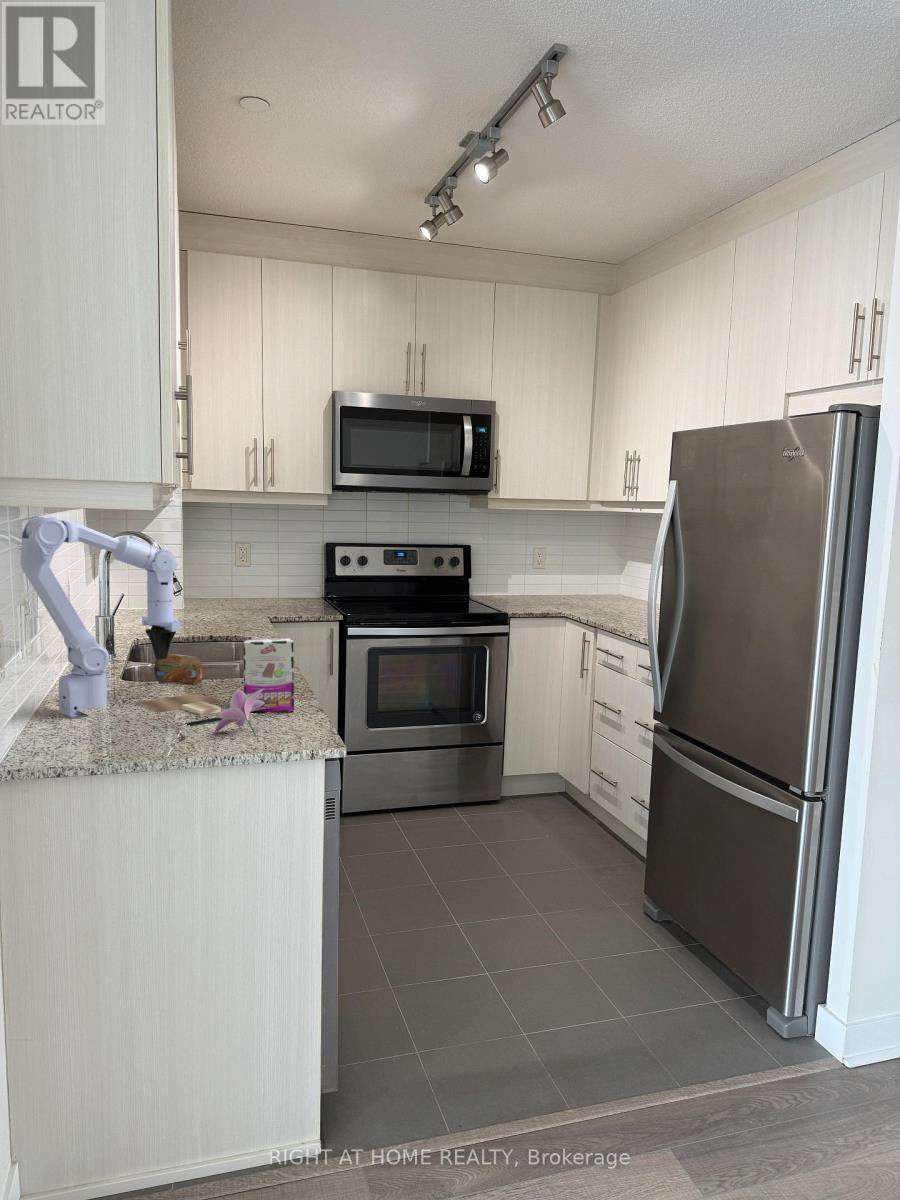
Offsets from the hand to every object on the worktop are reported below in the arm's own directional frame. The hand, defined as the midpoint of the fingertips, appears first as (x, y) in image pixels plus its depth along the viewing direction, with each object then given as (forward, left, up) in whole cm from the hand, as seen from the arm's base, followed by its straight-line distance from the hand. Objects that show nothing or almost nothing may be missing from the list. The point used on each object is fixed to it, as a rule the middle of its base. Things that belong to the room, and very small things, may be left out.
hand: (161, 658), depth 194 cm
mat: (0, -20, -10) cm, 22 cm away
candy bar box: (+14, -23, -11) cm, 29 cm away
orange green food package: (+12, +14, -11) cm, 21 cm away
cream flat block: (0, -18, -10) cm, 21 cm away
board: (0, -8, -10) cm, 13 cm away
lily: (-1, -35, -11) cm, 37 cm away
